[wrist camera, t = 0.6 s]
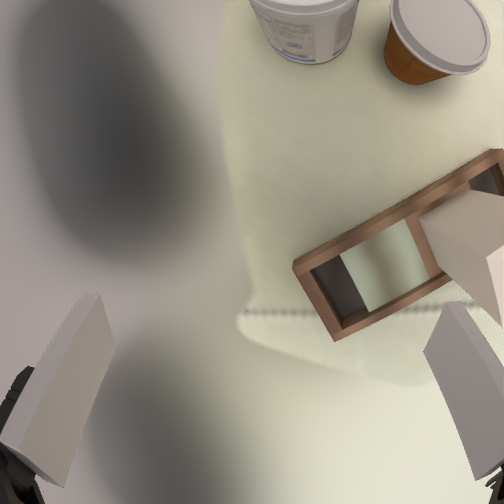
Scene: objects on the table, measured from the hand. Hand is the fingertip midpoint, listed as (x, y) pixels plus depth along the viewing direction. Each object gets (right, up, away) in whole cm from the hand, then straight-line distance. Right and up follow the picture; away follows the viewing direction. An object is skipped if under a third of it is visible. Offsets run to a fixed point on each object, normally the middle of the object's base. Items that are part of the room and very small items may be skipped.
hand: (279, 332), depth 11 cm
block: (+21, +5, +18) cm, 28 cm away
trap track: (+18, +4, +21) cm, 28 cm away
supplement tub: (+5, +28, +18) cm, 33 cm away
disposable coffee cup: (+17, +24, +16) cm, 34 cm away
